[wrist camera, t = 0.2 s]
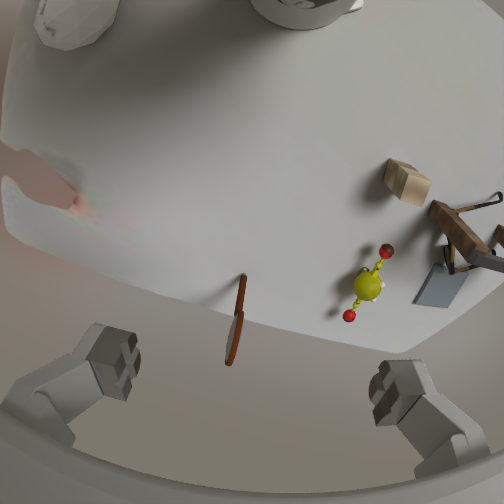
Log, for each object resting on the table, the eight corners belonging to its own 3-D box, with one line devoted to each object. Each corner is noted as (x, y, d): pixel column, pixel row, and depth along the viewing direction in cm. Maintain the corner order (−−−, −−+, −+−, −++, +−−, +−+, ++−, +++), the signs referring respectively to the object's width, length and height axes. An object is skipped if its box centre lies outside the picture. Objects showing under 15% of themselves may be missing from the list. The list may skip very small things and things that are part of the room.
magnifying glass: (243, 291, 58) (230, 377, 41) (234, 289, 58) (219, 375, 41) (254, 256, 53) (243, 344, 37) (245, 254, 53) (230, 341, 36)
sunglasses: (493, 249, 47) (504, 263, 43) (438, 266, 51) (448, 281, 47) (499, 191, 40) (513, 202, 36) (440, 204, 44) (453, 217, 40)
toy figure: (355, 308, 58) (361, 332, 53) (332, 303, 58) (336, 327, 52) (396, 236, 49) (409, 257, 43) (370, 228, 48) (381, 249, 43)
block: (389, 157, 41) (408, 174, 34) (410, 164, 41) (431, 181, 35) (382, 180, 43) (399, 200, 37) (402, 186, 43) (422, 206, 37)
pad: (434, 263, 51) (436, 266, 50) (466, 270, 51) (468, 273, 50) (414, 300, 56) (415, 303, 56) (446, 305, 57) (447, 308, 56)
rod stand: (433, 199, 44) (476, 245, 31) (506, 227, 44) (544, 268, 32) (427, 214, 46) (467, 262, 33) (500, 239, 46) (537, 281, 34)
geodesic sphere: (132, 41, 29) (74, -18, 16) (61, 85, 32) (1, 47, 19) (139, -6, 31) (98, -55, 17) (76, 31, 34) (31, -6, 20)
